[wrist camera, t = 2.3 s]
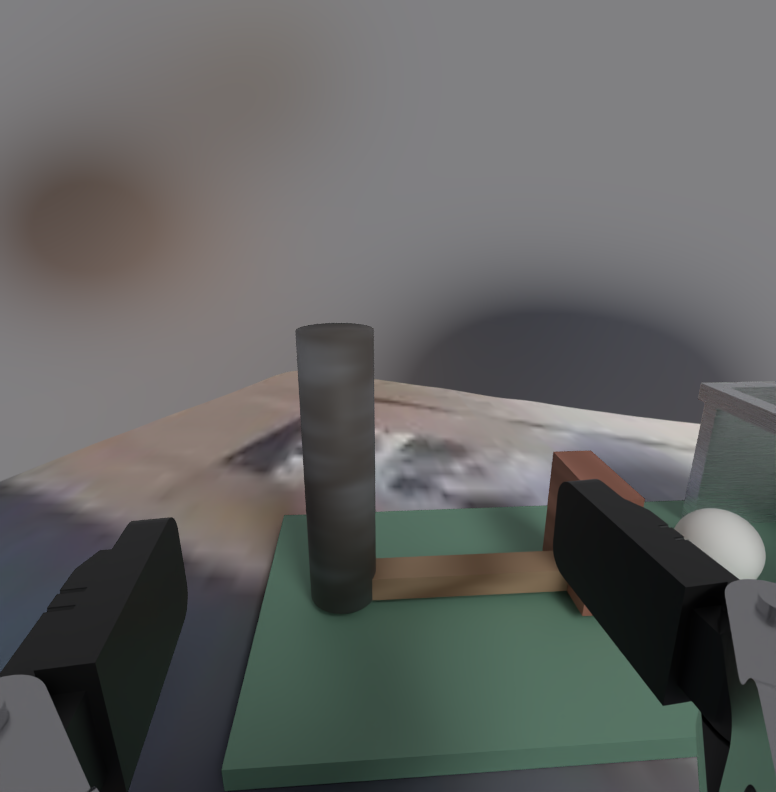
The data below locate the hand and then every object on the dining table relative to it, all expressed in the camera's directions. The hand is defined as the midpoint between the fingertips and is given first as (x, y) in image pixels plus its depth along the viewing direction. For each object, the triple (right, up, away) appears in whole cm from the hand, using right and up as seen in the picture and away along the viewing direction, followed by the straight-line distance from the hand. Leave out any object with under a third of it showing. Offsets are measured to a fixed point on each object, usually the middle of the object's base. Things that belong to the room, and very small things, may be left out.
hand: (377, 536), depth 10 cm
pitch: (+11, -8, +15) cm, 20 cm away
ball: (+17, -5, +15) cm, 23 cm away
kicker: (+4, -7, +14) cm, 16 cm away
